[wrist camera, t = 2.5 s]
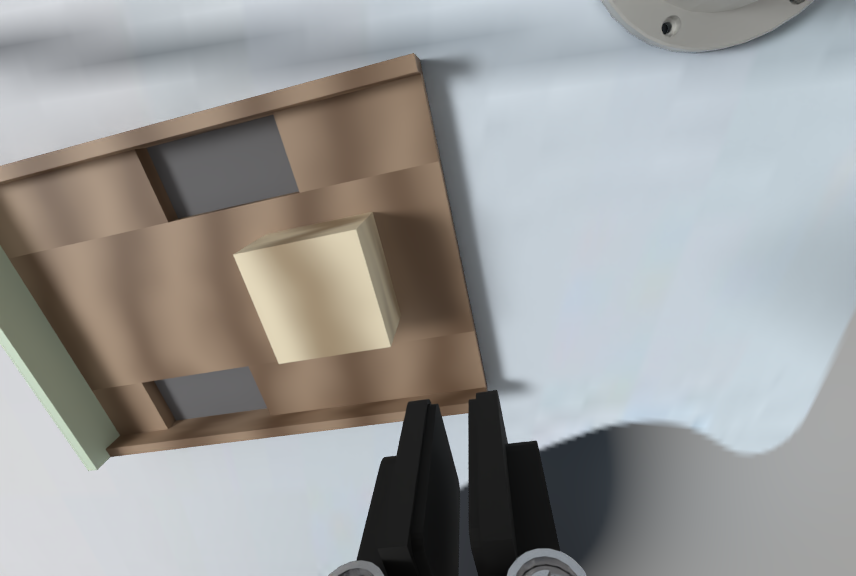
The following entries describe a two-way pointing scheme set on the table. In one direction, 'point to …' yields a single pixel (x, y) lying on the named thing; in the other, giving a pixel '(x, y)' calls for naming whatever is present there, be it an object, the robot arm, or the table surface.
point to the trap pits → (208, 191)
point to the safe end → (51, 371)
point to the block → (322, 289)
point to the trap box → (220, 276)
